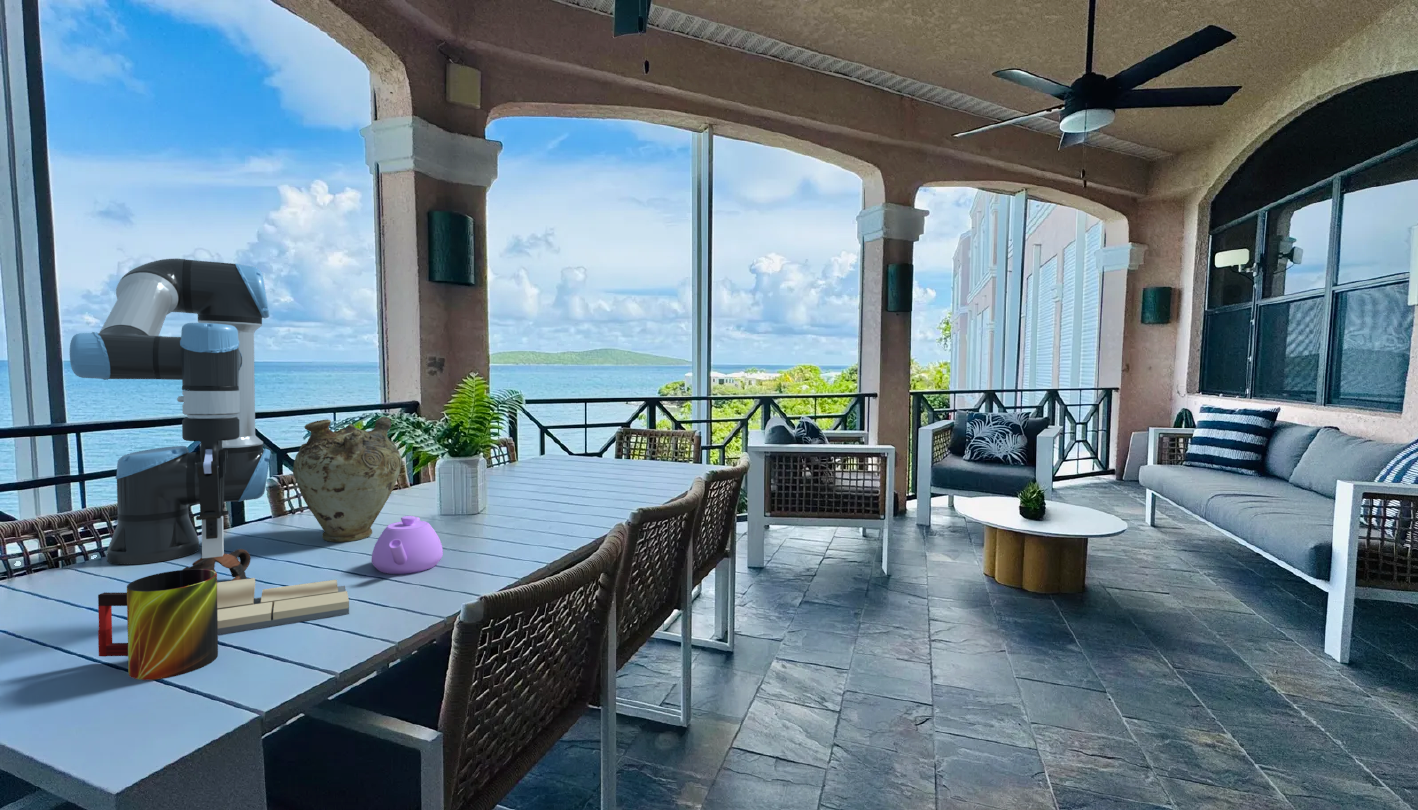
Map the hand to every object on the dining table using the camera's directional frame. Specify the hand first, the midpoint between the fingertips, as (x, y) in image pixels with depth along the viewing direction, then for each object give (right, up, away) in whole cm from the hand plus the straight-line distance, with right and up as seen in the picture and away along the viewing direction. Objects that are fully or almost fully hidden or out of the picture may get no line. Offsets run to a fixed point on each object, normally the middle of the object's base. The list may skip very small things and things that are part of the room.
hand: (213, 555), depth 106 cm
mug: (+6, -11, -18) cm, 22 cm away
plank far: (+11, -9, +6) cm, 15 cm away
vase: (-6, -8, +50) cm, 51 cm away
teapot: (+19, -9, +28) cm, 35 cm away
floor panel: (+7, -10, 0) cm, 12 cm away
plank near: (0, -7, -1) cm, 7 cm away
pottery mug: (-9, -9, +14) cm, 19 cm away
